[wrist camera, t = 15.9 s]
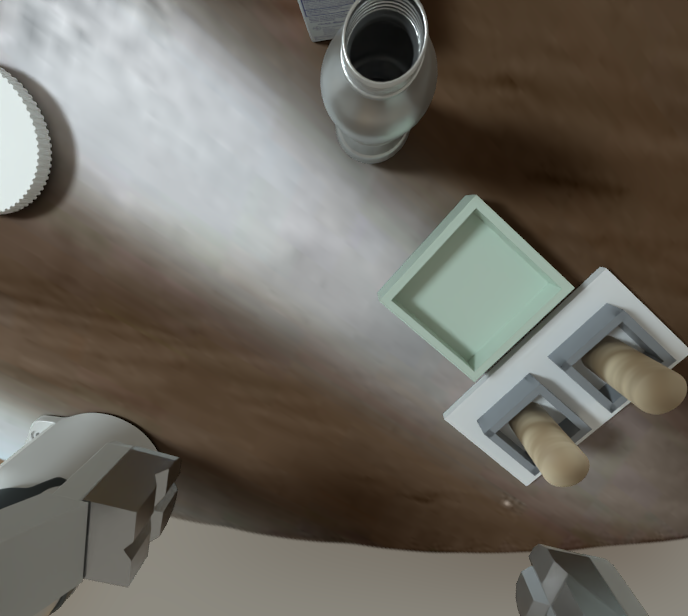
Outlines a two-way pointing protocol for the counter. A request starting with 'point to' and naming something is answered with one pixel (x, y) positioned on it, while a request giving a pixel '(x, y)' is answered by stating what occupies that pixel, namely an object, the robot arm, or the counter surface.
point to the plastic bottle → (379, 77)
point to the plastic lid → (21, 146)
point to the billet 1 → (549, 446)
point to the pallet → (561, 372)
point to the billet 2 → (636, 376)
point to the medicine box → (324, 17)
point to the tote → (473, 288)
